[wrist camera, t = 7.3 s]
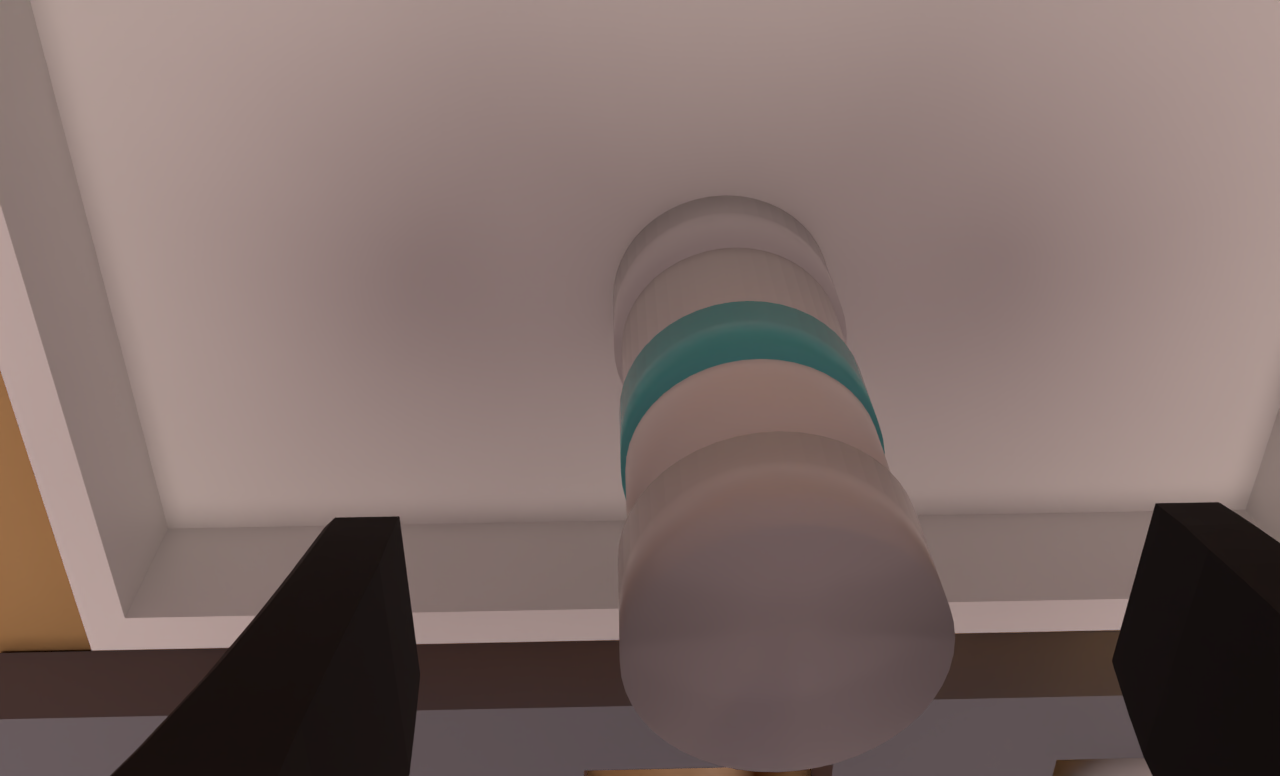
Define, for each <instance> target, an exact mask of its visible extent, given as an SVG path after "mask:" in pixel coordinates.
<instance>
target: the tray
mask: <svg viewBox="0 0 1280 776" xmlns="http://www.w3.org/2000/svg"><path fill="white" fill-rule="evenodd" d="M724 195H728V196H742V197H748V198H753V199H757V200H760V201H763V202H767V203H769V204H771V205H774V206H776V207H778V208H780V209H782V210H784V211H785V212H787V213H788V214H790V215H791V216H793V217H794V218H795V219H796V220H798V221H799V222H800V223H801V224H802V225H803V226H804V227H805V228H806V229H807V230H808V231H809V233H810V234H811V235H812V236H813V238H814V239H815V241H816V242H817V244H818V246H819V247H820V250H821V252H822V254H823V256H824V259H825V261H826V264H827V267H828V270H829V273H830V275H831V278H832V281H833V284H834V286H835V289H836V292H837V295H838V298H839V300H840V303H841V306H842V309H843V313H844V317H845V322H846V330H847V340H846V345H847V347H848V348H849V350H850V351H851V353H852V354H853V356H854V358H855V360H856V362H857V364H858V366H859V369H860V372H861V375H862V377H863V380H864V383H865V386H866V389H867V392H868V394H869V397H870V400H871V403H872V406H873V408H874V411H875V414H876V417H877V420H878V423H879V426H880V429H881V433H882V436H883V442H884V451H885V457H886V460H887V463H888V466H889V469H890V472H891V473H892V474H893V476H894V477H895V478H896V479H897V480H898V481H899V482H900V484H901V485H902V487H903V488H904V490H905V491H906V492H907V494H908V496H909V498H910V500H911V502H912V504H913V507H914V509H915V512H916V514H917V517H918V520H919V523H920V526H921V528H922V531H923V534H924V537H925V539H926V542H927V545H928V548H929V551H930V553H931V556H932V559H933V562H934V564H935V567H936V570H937V573H938V576H939V578H940V581H941V584H942V587H943V589H944V592H945V595H946V598H947V601H948V603H949V606H950V610H951V613H952V617H953V621H954V630H955V633H999V632H1049V631H1100V630H1120V629H1121V626H1122V622H1123V618H1124V615H1125V611H1126V608H1127V604H1128V600H1129V597H1130V593H1131V590H1132V586H1133V582H1134V579H1135V575H1136V572H1137V568H1138V564H1139V561H1140V557H1141V554H1142V550H1143V546H1144V543H1145V539H1146V536H1147V532H1148V528H1149V525H1150V521H1151V518H1152V514H1153V510H1154V507H1155V503H1197V502H1219V503H1221V504H1223V505H1224V506H1226V507H1227V508H1229V509H1231V510H1232V511H1234V512H1235V513H1237V514H1238V515H1240V516H1242V517H1243V518H1245V519H1246V520H1247V521H1249V522H1250V523H1252V524H1253V525H1255V526H1256V527H1258V528H1259V529H1261V530H1262V531H1264V532H1265V533H1267V534H1268V535H1269V536H1271V537H1272V538H1274V539H1275V540H1276V541H1278V542H1279V543H1280V0H0V370H1V374H2V377H3V380H4V383H5V386H6V389H7V392H8V395H9V398H10V401H11V404H12V407H13V410H14V413H15V416H16V420H17V423H18V426H19V429H20V432H21V435H22V438H23V441H24V444H25V447H26V450H27V453H28V456H29V459H30V463H31V466H32V469H33V472H34V475H35V478H36V481H37V484H38V487H39V490H40V493H41V496H42V499H43V502H44V505H45V509H46V512H47V515H48V518H49V521H50V524H51V527H52V530H53V533H54V536H55V539H56V542H57V545H58V548H59V552H60V555H61V558H62V561H63V564H64V567H65V570H66V573H67V576H68V579H69V582H70V585H71V588H72V591H73V594H74V598H75V601H76V604H77V607H78V610H79V613H80V616H81V619H82V622H83V625H84V628H85V631H86V634H87V637H88V640H89V644H90V647H91V650H143V649H193V648H229V647H230V646H231V645H232V644H233V643H234V641H235V640H236V639H237V638H238V637H239V635H240V634H241V633H242V632H243V631H244V630H245V628H246V627H247V626H248V625H249V624H250V622H251V621H252V620H253V619H254V618H255V616H256V615H257V614H258V613H259V611H260V610H261V609H262V608H263V606H264V605H265V604H266V603H267V601H268V600H269V599H270V598H271V596H272V595H273V594H274V593H275V591H276V590H277V589H278V588H279V586H280V585H281V584H282V582H283V581H284V580H285V579H286V577H287V576H288V575H289V573H290V572H291V571H292V570H293V568H294V567H295V566H296V564H297V563H298V562H299V560H300V559H301V558H302V556H303V555H304V554H305V552H306V551H307V550H308V548H309V547H310V546H311V544H312V543H313V542H314V541H315V539H316V538H317V537H318V535H319V534H320V533H321V531H322V530H323V529H324V527H325V526H326V525H327V524H329V523H330V522H331V521H332V520H333V519H334V518H335V517H392V516H400V524H401V532H402V539H403V547H404V554H405V562H406V570H407V577H408V585H409V593H410V600H411V608H412V615H413V623H414V631H415V638H416V644H445V643H495V642H546V641H596V640H619V599H618V550H619V542H620V537H621V533H622V529H623V526H624V524H625V522H626V519H627V512H626V498H625V495H624V491H623V487H622V479H621V461H620V419H619V409H620V397H621V392H622V388H623V385H622V382H621V380H620V377H619V375H618V371H617V367H616V363H615V355H614V325H613V289H614V282H615V277H616V272H617V269H618V267H619V264H620V261H621V259H622V257H623V255H624V253H625V251H626V250H627V248H628V246H629V245H630V244H631V242H632V241H633V240H634V238H635V237H636V236H637V235H638V234H639V233H640V232H641V230H642V229H643V228H644V227H645V226H647V225H648V224H649V223H650V222H652V221H653V220H654V219H655V218H657V217H658V216H660V215H661V214H663V213H665V212H666V211H668V210H670V209H672V208H674V207H676V206H678V205H680V204H683V203H686V202H689V201H692V200H695V199H700V198H705V197H710V196H724Z"/></svg>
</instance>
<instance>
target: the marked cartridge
mask: <svg viewBox="0 0 1280 776" xmlns="http://www.w3.org/2000/svg"><path fill="white" fill-rule="evenodd" d="M613 325H614V355H615V363H616V367H617V371H618V375H619V377H620V380H621V382H622V385H623V388H622V392H621V397H620V409H619V419H620V461H621V479H622V487H623V491H624V495H625V498H626V512H627V519H626V522H625V524H624V526H623V529H622V533H621V537H620V542H619V550H618V599H619V653H620V669H621V678H622V681H623V685H624V688H625V692H626V694H627V696H628V698H629V700H630V702H631V704H632V706H633V708H634V709H635V710H636V712H637V713H638V715H639V716H640V718H641V719H642V720H643V721H644V722H645V723H646V724H647V725H648V726H649V727H650V729H651V730H652V731H653V732H655V733H656V734H657V735H658V736H660V737H661V738H662V739H663V740H665V741H666V742H667V743H669V744H671V745H672V746H674V747H676V748H677V749H679V750H681V751H682V752H684V753H687V754H689V755H691V756H693V757H696V758H698V759H700V760H703V761H706V762H709V763H713V764H716V765H719V766H724V767H728V768H733V769H738V770H747V771H756V772H786V771H799V770H806V769H812V768H818V767H822V766H826V765H830V764H834V763H838V762H841V761H844V760H847V759H850V758H853V757H855V756H858V755H860V754H862V753H865V752H867V751H869V750H871V749H873V748H875V747H877V746H879V745H881V744H882V743H884V742H886V741H887V740H889V739H891V738H892V737H894V736H895V735H897V734H898V733H899V732H901V731H902V730H903V729H905V728H906V727H908V726H909V725H910V724H911V723H912V722H913V721H914V720H915V719H916V718H917V717H918V716H920V715H921V714H922V712H923V711H924V710H925V709H926V708H927V707H928V705H929V704H930V703H931V702H932V701H933V699H934V698H935V696H936V695H937V693H938V692H939V690H940V688H941V687H942V685H943V683H944V681H945V679H946V676H947V674H948V672H949V669H950V666H951V662H952V658H953V655H954V645H955V630H954V621H953V617H952V613H951V610H950V606H949V603H948V601H947V598H946V595H945V592H944V589H943V587H942V584H941V581H940V578H939V576H938V573H937V570H936V567H935V564H934V562H933V559H932V556H931V553H930V551H929V548H928V545H927V542H926V539H925V537H924V534H923V531H922V528H921V526H920V523H919V520H918V517H917V514H916V512H915V509H914V507H913V504H912V502H911V500H910V498H909V496H908V494H907V492H906V491H905V490H904V488H903V487H902V485H901V484H900V482H899V481H898V480H897V479H896V478H895V477H894V476H893V474H892V473H891V472H890V469H889V466H888V463H887V460H886V457H885V451H884V442H883V436H882V433H881V429H880V426H879V423H878V420H877V417H876V414H875V411H874V408H873V406H872V403H871V400H870V397H869V394H868V392H867V389H866V386H865V383H864V380H863V377H862V375H861V372H860V369H859V366H858V364H857V362H856V360H855V358H854V356H853V354H852V353H851V351H850V350H849V348H848V347H847V345H846V340H847V330H846V322H845V317H844V313H843V309H842V306H841V303H840V300H839V298H838V295H837V292H836V289H835V286H834V284H833V281H832V278H831V275H830V273H829V270H828V267H827V264H826V261H825V259H824V256H823V254H822V252H821V250H820V247H819V246H818V244H817V242H816V241H815V239H814V238H813V236H812V235H811V234H810V233H809V231H808V230H807V229H806V228H805V227H804V226H803V225H802V224H801V223H800V222H799V221H798V220H796V219H795V218H794V217H793V216H791V215H790V214H788V213H787V212H785V211H784V210H782V209H780V208H778V207H776V206H774V205H771V204H769V203H767V202H763V201H760V200H757V199H753V198H748V197H742V196H728V195H724V196H710V197H705V198H700V199H695V200H692V201H689V202H686V203H683V204H680V205H678V206H676V207H674V208H672V209H670V210H668V211H666V212H665V213H663V214H661V215H660V216H658V217H657V218H655V219H654V220H653V221H652V222H650V223H649V224H648V225H647V226H645V227H644V228H643V229H642V230H641V232H640V233H639V234H638V235H637V236H636V237H635V238H634V240H633V241H632V242H631V244H630V245H629V246H628V248H627V250H626V251H625V253H624V255H623V257H622V259H621V261H620V264H619V267H618V269H617V272H616V277H615V282H614V289H613Z"/></svg>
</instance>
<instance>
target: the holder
mask: <svg viewBox="0 0 1280 776" xmlns="http://www.w3.org/2000/svg"><path fill="white" fill-rule="evenodd" d="M1119 633H1120V631H1082V632H1032V633H982V634H955V645H954V655H953V658H952V662H951V666H950V669H949V672H948V674H947V676H946V679H945V681H944V683H943V685H942V687H941V688H940V690H939V692H938V693H937V695H936V696H935V698H934V699H933V701H932V702H931V703H930V704H929V705H928V707H927V708H926V709H925V710H924V711H923V712H922V714H921V715H920V716H918V717H917V718H916V719H915V720H914V721H913V722H912V723H911V724H910V725H909V726H908V727H906V728H905V729H903V730H902V731H901V732H899V733H898V734H897V735H895V736H894V737H892V738H891V739H889V740H887V741H886V742H884V743H882V744H881V745H879V746H877V747H875V748H873V749H871V750H869V751H867V752H865V753H862V754H860V755H858V756H855V757H853V758H850V759H847V760H844V761H841V762H838V763H834V764H830V765H826V766H822V767H818V768H812V772H811V776H1052V775H1053V771H1054V768H1055V764H1056V760H1076V759H1120V758H1144V757H1143V754H1142V751H1141V748H1140V745H1139V743H1138V740H1137V737H1136V734H1135V731H1134V728H1133V726H1132V723H1131V720H1130V717H1129V714H1128V711H1127V708H1126V705H1125V702H1124V698H1123V695H1122V692H1121V689H1120V686H1119V683H1118V679H1117V676H1116V673H1115V670H1114V667H1113V663H1112V658H1113V654H1114V651H1115V647H1116V644H1117V640H1118V636H1119ZM416 646H417V653H418V661H419V669H420V683H419V693H418V703H417V713H416V722H415V732H414V740H413V749H412V757H411V766H410V774H409V776H587V770H628V769H673V768H718V767H724V766H719V765H716V764H713V763H709V762H706V761H703V760H700V759H698V758H696V757H693V756H691V755H689V754H687V753H684V752H682V751H681V750H679V749H677V748H676V747H674V746H672V745H671V744H669V743H667V742H666V741H665V740H663V739H662V738H661V737H660V736H658V735H657V734H656V733H655V732H653V731H652V730H651V729H650V727H649V726H648V725H647V724H646V723H645V722H644V721H643V720H642V719H641V718H640V716H639V715H638V713H637V712H636V710H635V709H634V708H633V706H632V704H631V702H630V700H629V698H628V696H627V694H626V692H625V688H624V685H623V681H622V678H621V669H620V653H619V641H579V642H529V643H478V644H428V645H416ZM227 650H228V648H227V649H176V650H126V651H76V652H25V653H0V776H110V775H111V774H112V773H113V772H114V771H115V770H116V769H117V768H118V767H119V766H120V765H121V764H122V763H123V762H124V761H125V760H126V759H127V758H128V757H129V756H131V755H132V753H133V752H134V751H135V750H136V749H137V748H138V747H139V746H140V745H141V744H142V743H143V742H144V741H145V740H146V739H147V738H148V737H149V736H150V735H151V734H152V733H153V732H154V730H155V729H156V728H157V727H158V726H159V725H160V724H161V723H162V722H163V721H164V720H165V719H166V718H167V717H168V716H169V714H170V713H171V712H172V711H173V710H174V709H175V708H176V707H177V706H178V705H179V704H180V703H181V702H182V701H183V700H184V698H185V697H186V696H187V695H188V694H189V693H190V692H191V691H192V690H193V689H194V688H195V687H196V686H197V685H198V683H199V682H200V681H201V680H202V679H203V678H204V677H205V675H206V674H207V673H208V672H209V671H210V670H211V669H212V667H213V666H214V665H215V664H216V663H217V662H218V660H219V659H220V658H221V657H222V656H223V654H224V653H225V652H226V651H227Z"/></svg>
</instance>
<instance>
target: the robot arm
mask: <svg viewBox="0 0 1280 776" xmlns="http://www.w3.org/2000/svg"><path fill="white" fill-rule="evenodd" d="M1112 663H1113V667H1114V670H1115V673H1116V676H1117V679H1118V683H1119V686H1120V689H1121V692H1122V695H1123V698H1124V702H1125V705H1126V708H1127V711H1128V714H1129V717H1130V720H1131V723H1132V726H1133V728H1134V731H1135V734H1136V737H1137V740H1138V743H1139V745H1140V748H1141V751H1142V754H1143V757H1144V759H1145V761H1146V763H1147V765H1148V767H1149V769H1150V772H1151V774H1152V776H1280V543H1279V542H1278V541H1276V540H1275V539H1274V538H1272V537H1271V536H1269V535H1268V534H1267V533H1265V532H1264V531H1262V530H1261V529H1259V528H1258V527H1256V526H1255V525H1253V524H1252V523H1250V522H1249V521H1247V520H1246V519H1245V518H1243V517H1242V516H1240V515H1238V514H1237V513H1235V512H1234V511H1232V510H1231V509H1229V508H1227V507H1226V506H1224V505H1223V504H1221V503H1219V502H1197V503H1155V507H1154V510H1153V514H1152V518H1151V521H1150V525H1149V528H1148V532H1147V536H1146V539H1145V543H1144V546H1143V550H1142V554H1141V557H1140V561H1139V564H1138V568H1137V572H1136V575H1135V579H1134V582H1133V586H1132V590H1131V593H1130V597H1129V600H1128V604H1127V608H1126V611H1125V615H1124V618H1123V622H1122V626H1121V629H1120V633H1119V636H1118V640H1117V644H1116V647H1115V651H1114V654H1113V658H1112ZM419 683H420V669H419V661H418V653H417V646H416V638H415V631H414V623H413V615H412V608H411V600H410V593H409V585H408V577H407V570H406V562H405V554H404V547H403V539H402V532H401V524H400V516H392V517H335V518H334V519H333V520H332V521H331V522H330V523H329V524H327V525H326V526H325V527H324V529H323V530H322V531H321V533H320V534H319V535H318V537H317V538H316V539H315V541H314V542H313V543H312V544H311V546H310V547H309V548H308V550H307V551H306V552H305V554H304V555H303V556H302V558H301V559H300V560H299V562H298V563H297V564H296V566H295V567H294V568H293V570H292V571H291V572H290V573H289V575H288V576H287V577H286V579H285V580H284V581H283V582H282V584H281V585H280V586H279V588H278V589H277V590H276V591H275V593H274V594H273V595H272V596H271V598H270V599H269V600H268V601H267V603H266V604H265V605H264V606H263V608H262V609H261V610H260V611H259V613H258V614H257V615H256V616H255V618H254V619H253V620H252V621H251V622H250V624H249V625H248V626H247V627H246V628H245V630H244V631H243V632H242V633H241V634H240V635H239V637H238V638H237V639H236V640H235V641H234V643H233V644H232V645H231V646H230V647H229V648H228V650H227V651H226V652H225V653H224V654H223V656H222V657H221V658H220V659H219V660H218V662H217V663H216V664H215V665H214V666H213V667H212V669H211V670H210V671H209V672H208V673H207V674H206V675H205V677H204V678H203V679H202V680H201V681H200V682H199V683H198V685H197V686H196V687H195V688H194V689H193V690H192V691H191V692H190V693H189V694H188V695H187V696H186V697H185V698H184V700H183V701H182V702H181V703H180V704H179V705H178V706H177V707H176V708H175V709H174V710H173V711H172V712H171V713H170V714H169V716H168V717H167V718H166V719H165V720H164V721H163V722H162V723H161V724H160V725H159V726H158V727H157V728H156V729H155V730H154V732H153V733H152V734H151V735H150V736H149V737H148V738H147V739H146V740H145V741H144V742H143V743H142V744H141V745H140V746H139V747H138V748H137V749H136V750H135V751H134V752H133V753H132V755H131V756H129V757H128V758H127V759H126V760H125V761H124V762H123V763H122V764H121V765H120V766H119V767H118V768H117V769H116V770H115V771H114V772H113V773H112V774H111V775H110V776H409V774H410V766H411V757H412V749H413V740H414V732H415V722H416V713H417V703H418V693H419Z"/></svg>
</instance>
